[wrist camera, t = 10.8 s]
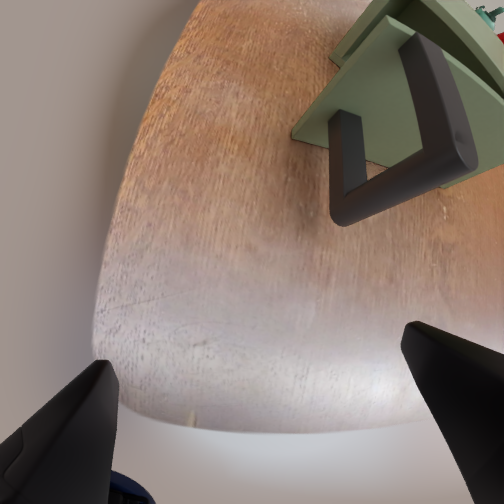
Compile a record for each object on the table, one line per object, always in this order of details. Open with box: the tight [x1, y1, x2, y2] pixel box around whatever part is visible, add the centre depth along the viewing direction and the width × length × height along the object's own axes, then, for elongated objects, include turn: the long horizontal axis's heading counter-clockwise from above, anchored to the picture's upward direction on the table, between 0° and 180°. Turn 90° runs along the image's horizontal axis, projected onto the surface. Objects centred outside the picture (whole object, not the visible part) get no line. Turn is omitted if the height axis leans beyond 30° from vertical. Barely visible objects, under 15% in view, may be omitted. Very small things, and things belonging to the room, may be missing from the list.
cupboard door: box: [292, 15, 504, 227], centre depth 16 cm, size 8×16×12 cm, turn 85°
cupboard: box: [329, 0, 504, 100], centre depth 20 cm, size 12×16×12 cm
